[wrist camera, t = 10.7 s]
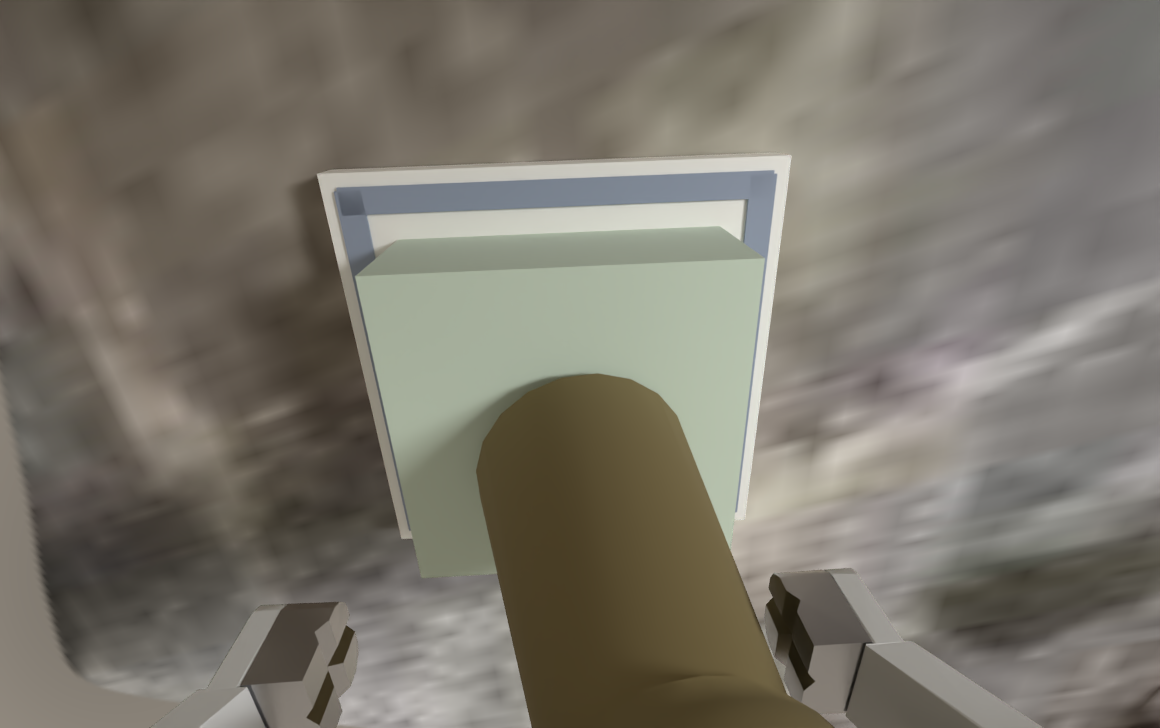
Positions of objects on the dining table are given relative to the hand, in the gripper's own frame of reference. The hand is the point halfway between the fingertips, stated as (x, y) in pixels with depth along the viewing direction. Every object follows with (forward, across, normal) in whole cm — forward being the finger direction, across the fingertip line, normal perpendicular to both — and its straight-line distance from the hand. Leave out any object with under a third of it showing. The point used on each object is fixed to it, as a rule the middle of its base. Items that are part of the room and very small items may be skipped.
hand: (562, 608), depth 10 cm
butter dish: (+11, 0, 0) cm, 11 cm away
